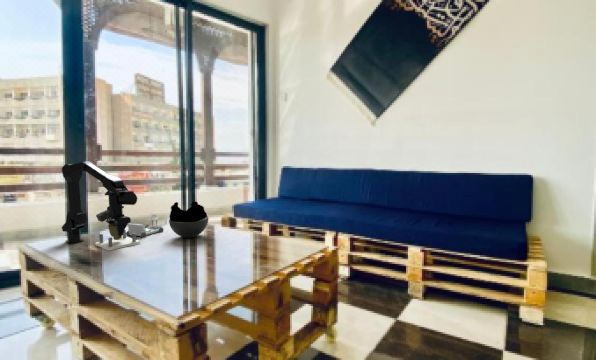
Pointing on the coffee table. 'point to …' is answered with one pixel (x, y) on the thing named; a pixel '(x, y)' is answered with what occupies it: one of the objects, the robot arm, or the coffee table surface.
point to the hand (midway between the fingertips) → (117, 235)
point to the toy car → (144, 231)
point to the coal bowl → (188, 220)
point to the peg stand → (117, 242)
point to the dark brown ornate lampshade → (114, 231)
